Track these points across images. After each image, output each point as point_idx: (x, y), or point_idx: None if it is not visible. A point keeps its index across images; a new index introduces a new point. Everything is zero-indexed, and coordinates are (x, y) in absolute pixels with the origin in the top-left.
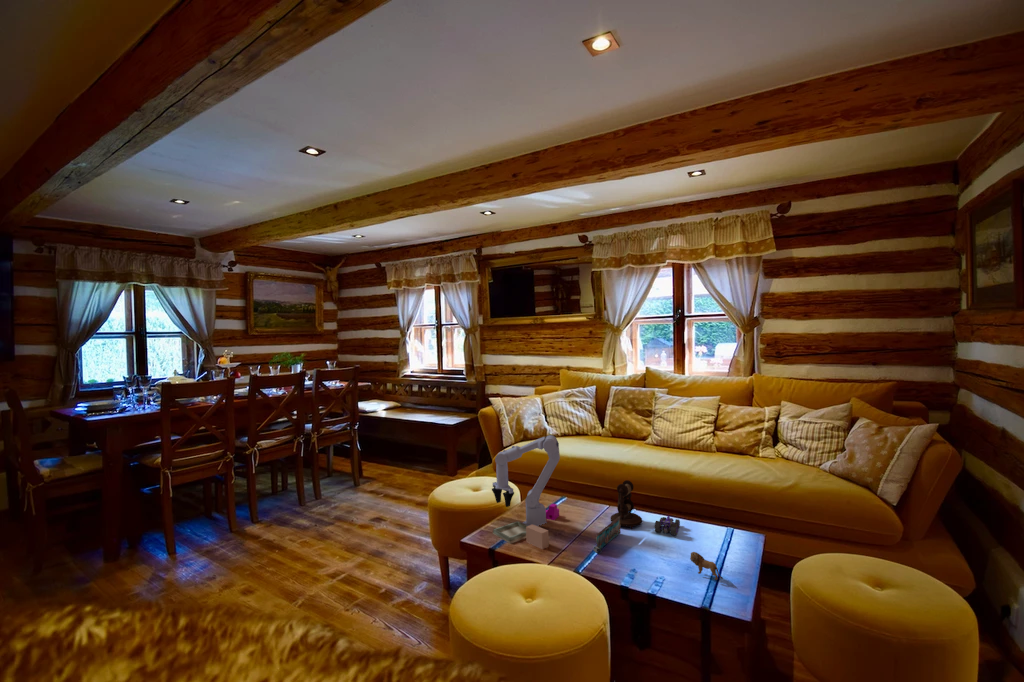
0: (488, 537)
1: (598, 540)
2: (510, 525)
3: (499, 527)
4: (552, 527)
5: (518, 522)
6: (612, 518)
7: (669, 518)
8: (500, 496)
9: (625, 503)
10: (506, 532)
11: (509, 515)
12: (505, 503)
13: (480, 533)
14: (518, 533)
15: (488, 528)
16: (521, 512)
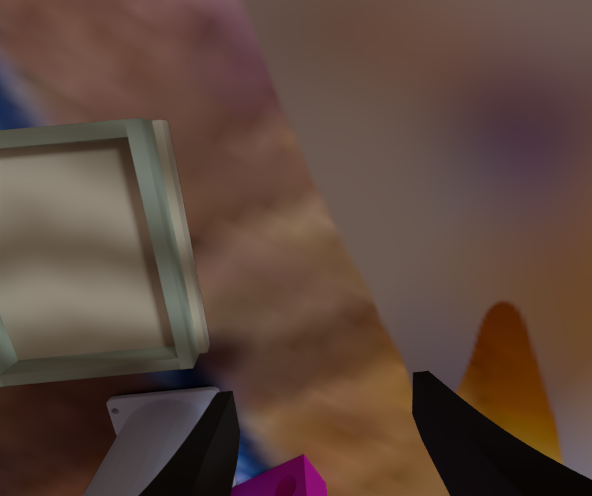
0: (130, 57)
1: None
2: (166, 292)
3: (152, 191)
4: (77, 482)
5: (168, 361)
6: None
7: None
8: (448, 481)
9: None
10: (101, 214)
11: (400, 389)
12: (212, 419)
13: (244, 42)
14: (39, 276)
15: (296, 157)
16: (387, 462)
